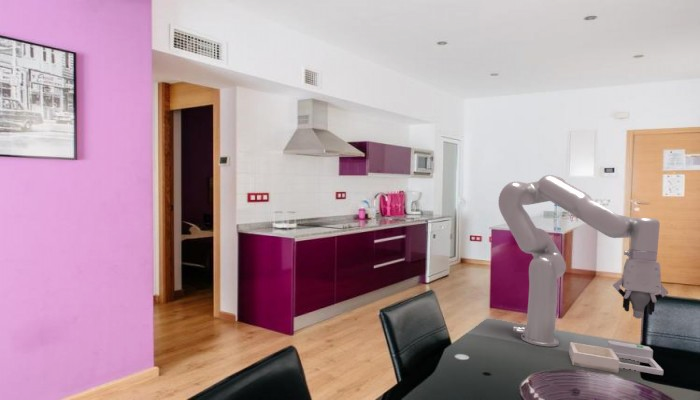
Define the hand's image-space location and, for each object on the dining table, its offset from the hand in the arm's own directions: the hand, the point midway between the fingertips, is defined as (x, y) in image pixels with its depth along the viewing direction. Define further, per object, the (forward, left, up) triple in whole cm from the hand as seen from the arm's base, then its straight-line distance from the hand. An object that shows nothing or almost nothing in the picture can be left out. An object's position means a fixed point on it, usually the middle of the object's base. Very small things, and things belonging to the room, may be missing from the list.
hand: (637, 311), depth 148 cm
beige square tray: (-13, -6, -17) cm, 22 cm away
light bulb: (0, 0, -2) cm, 2 cm away
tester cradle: (0, +2, -17) cm, 17 cm away
